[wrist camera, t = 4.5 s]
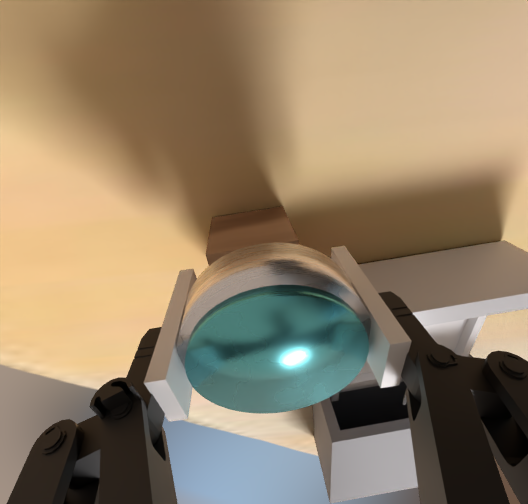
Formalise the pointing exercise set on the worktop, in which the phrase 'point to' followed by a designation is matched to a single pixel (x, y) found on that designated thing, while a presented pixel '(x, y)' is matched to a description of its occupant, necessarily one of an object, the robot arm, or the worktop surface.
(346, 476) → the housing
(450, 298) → the tray
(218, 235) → the block
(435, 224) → the worktop surface
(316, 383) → the disc
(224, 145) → the worktop surface
